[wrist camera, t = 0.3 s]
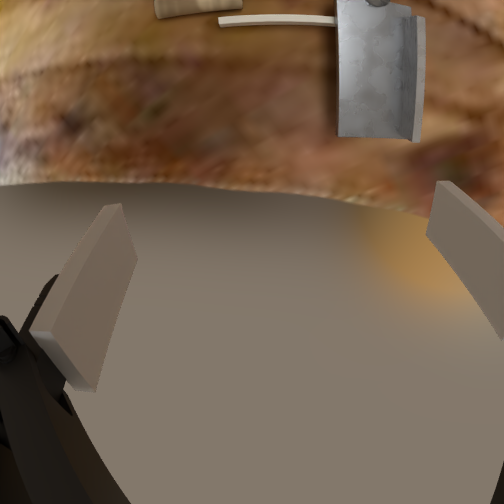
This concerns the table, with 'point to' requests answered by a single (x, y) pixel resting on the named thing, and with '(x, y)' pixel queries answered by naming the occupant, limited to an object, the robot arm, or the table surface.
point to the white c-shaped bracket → (276, 20)
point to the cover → (379, 70)
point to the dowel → (192, 6)
